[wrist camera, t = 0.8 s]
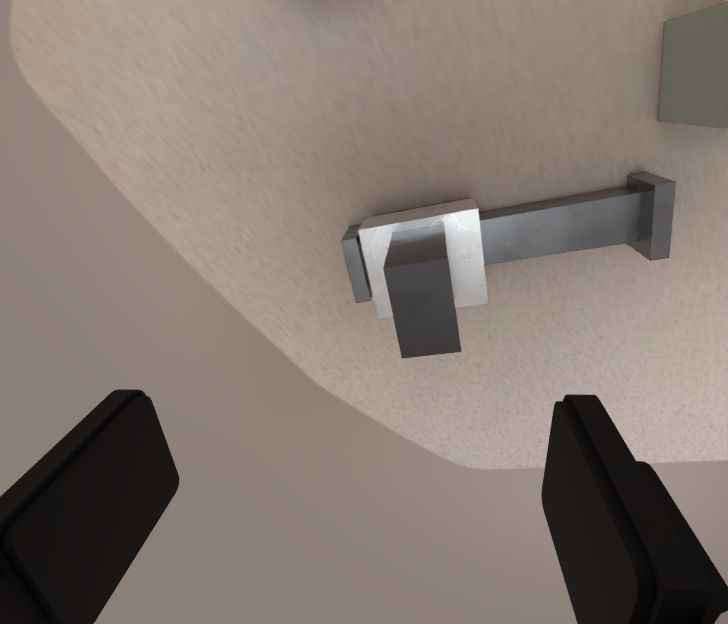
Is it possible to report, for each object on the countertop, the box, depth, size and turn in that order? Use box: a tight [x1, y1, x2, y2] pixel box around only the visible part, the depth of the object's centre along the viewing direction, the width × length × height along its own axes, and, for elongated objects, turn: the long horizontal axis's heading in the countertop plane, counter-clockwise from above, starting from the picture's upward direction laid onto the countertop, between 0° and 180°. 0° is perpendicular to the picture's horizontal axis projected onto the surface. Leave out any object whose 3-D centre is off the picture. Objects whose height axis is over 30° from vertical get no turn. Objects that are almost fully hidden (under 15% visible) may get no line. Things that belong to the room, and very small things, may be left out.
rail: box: [341, 172, 676, 303], centre depth 28 cm, size 19×4×4 cm, turn 103°
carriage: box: [358, 198, 488, 358], centre depth 25 cm, size 7×6×10 cm
